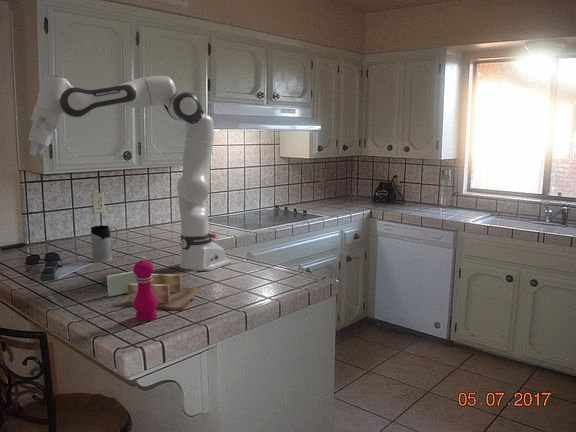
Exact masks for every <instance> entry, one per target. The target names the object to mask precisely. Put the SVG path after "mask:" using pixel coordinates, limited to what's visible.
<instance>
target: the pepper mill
mask: <svg viewBox="0 0 576 432" xmlns="http://www.w3.org/2000/svg"><path fill="white" fill-rule="evenodd" d="M153 265H154V264H153V263H152V262H150V260H147V257H146V256H145V255H142V256H140V257H139V261H137V262H136V263H135V264H134V265H133V271H134V274H135V275H136V282H137V283H138V292H137V295H136V297H135V300H134V306H133V308H134V310H135V311H136V312H135V318H136V320H137V321H140V322H149V321H153V320H155V319H156V318H157V317H158V315H157V314H158V313H157V312H158V311H157V309H156V307H157V306H158V303H157V299H156V296H155V295H154V293H153V291H152V288H151V281H152V275H151V274H154V266H153Z"/></svg>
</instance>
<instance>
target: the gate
mask: <svg viewBox="0 0 576 432" xmlns="http://www.w3.org/2000/svg"><path fill="white" fill-rule="evenodd" d="M129 283H135V284H138V283H137V282H136V275H135V274H134V271H127V272H122V273H117V274H111V275H106V284H107V295H108V296H109V297H114V296H118V295H123V294H128V284H129Z"/></svg>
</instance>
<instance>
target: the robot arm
mask: <svg viewBox="0 0 576 432" xmlns="http://www.w3.org/2000/svg"><path fill="white" fill-rule="evenodd" d="M115 105H124V106H126V107H129V108H133V109H142V108H149V107H154V106H157V105H158V106H159V105H163V106H164V108H165V109H166V112H167V113H168V115H169V116H170V117H171V118H172V119H173V120H176V121H180V122H184V123H185V127H186V132H185V133H186V135H185V141H184V149H183V154H182V156H183V157H182V175H181V176H180V177H179V179H178V181H177V184H176V185H177V186H176V187H177V198H178V199H177V200H178V206H179V214H180V215H179V216H180V231H181V234H180V247H181V253H180V254H181V257H180V262H179V267H180V268H181V269H185V270H192V271H194V272H198V271H200V272H201V271H202V272H203V271H205V272H209V271H210V272H211V271H213V270H217V269H218V268H221V267H223V266H226V265H230V264H231V263H232V260H231V259H230V258H228V257H226V252H225V249H224V248H223V247H221V246H220V245H218V244H217V243H216V242H214V241H213V239H217V234H216V233H210V232H209V221H208V219H209V218H208V212H207V205H206V199H207V198H208V197H209V194H210V183H211V182H210V181H211V180H210V179H211V159H212V151H213V146H214V145H213V144H214V135H215V134H214V133H215V129H214V128H215V127H214V119H213V118H212V117H211V116H210V115H209V114H208V113H207V114H206V113H204V111H203V107H202V104H201V102H200V100H199V98H198V97H197V96H196V95H195V94H194V93H191V92H188V91H184V92H183V91H182V92H180V91H178V90H177V88H176V84H175V83H174V80H173V79H172V78H171V77H169V76H167V75H152V76H145V77H144V76H143V77H139V78H135V79H132V80H129V81H127V82H124V83H121V84H118V85H115V86H109V87H103V88H96V89H84V88H80V87H74V86H73V85H72V84H71V83H70V82H69V81H68V79H67V78H65V77H62V76H60V75H59V76H58V75H48V76H45V78H44V79H43V81H42V83H41V84H40V87H39V91H38V94H37V102H36V104H35V105H34V107H33V108H34V109H33V111H32V114H31V115H32V116H31V117H30V118H31V119H30V120H31V121H32V125H31V127H30V128H31V129H30V130H29V134H28V141H30V142H31V143H30V151H29V155H31V156H34V157H36V158H41V157H42V154H43V153H44V151H45V148H48V147H49V146H50V145H51V142H52V139H53V136H54V134H55V130H57V129H58V126H59V121H60V119H61V115H62V114H64V115H65V116H67V117H69V118H71V119H74V120H81V119H85V118H86V117H87V116H88V115H89V114H90V112H91V111H92V110H94V109H97V108H103V107H109V106H115Z"/></svg>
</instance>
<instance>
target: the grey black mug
mask: <svg viewBox="0 0 576 432" xmlns="http://www.w3.org/2000/svg"><path fill="white" fill-rule="evenodd" d="M113 228H114V229H115V240H114V242H113V244H112V245H111V236H112V232H111V231H112V229H113ZM118 235H119V233H118V229H117V227H116V226H111V227H110V226H109V225H105V224H104V225H94V226H92V227H90V238H91V251H92V261H91V262H92V263H99V264H100V263H102V264H103V263H108V262H111V261H113V260H114V259H113V257H112V249H113V247H115V245H116V244H117V243H116V242H117V241H118V240H117V239H118Z"/></svg>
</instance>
